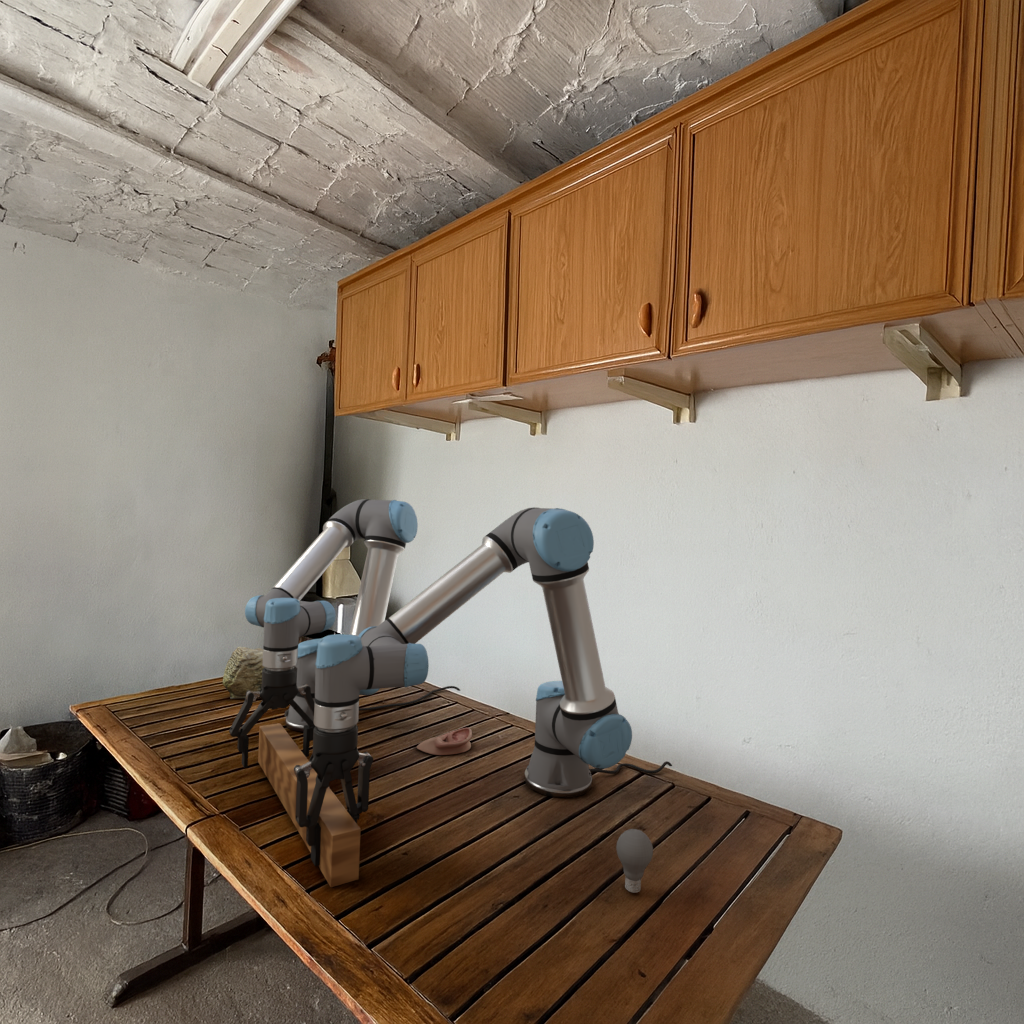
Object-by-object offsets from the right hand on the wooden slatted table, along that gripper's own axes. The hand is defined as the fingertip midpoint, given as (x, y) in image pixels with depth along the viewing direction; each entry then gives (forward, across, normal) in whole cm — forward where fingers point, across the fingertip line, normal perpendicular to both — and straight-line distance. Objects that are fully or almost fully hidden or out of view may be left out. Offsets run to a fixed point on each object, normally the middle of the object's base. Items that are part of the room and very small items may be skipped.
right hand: (330, 857), depth 111 cm
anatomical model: (+1, +41, +36) cm, 54 cm away
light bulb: (+1, +41, -33) cm, 52 cm away
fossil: (+1, +7, +100) cm, 100 cm away
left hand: (-2, 0, +40) cm, 40 cm away
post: (+1, 0, +20) cm, 20 cm away
